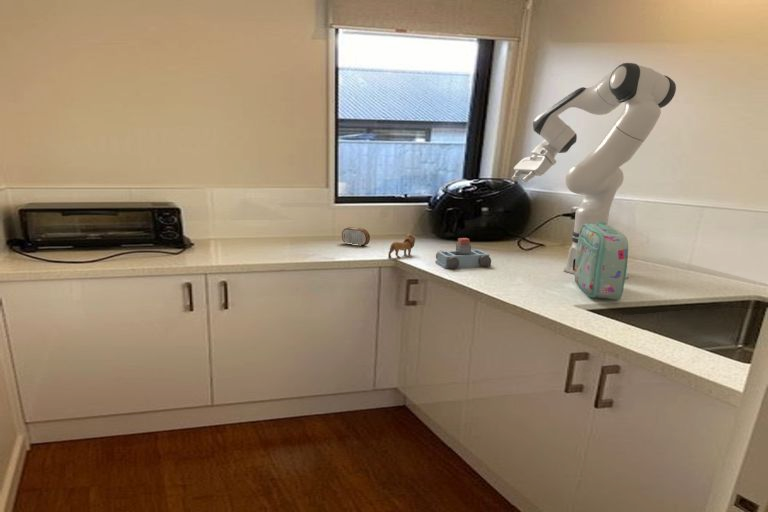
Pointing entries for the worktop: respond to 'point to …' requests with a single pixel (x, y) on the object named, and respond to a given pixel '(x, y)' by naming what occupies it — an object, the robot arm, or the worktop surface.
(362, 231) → the wooden speaker
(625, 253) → the lunch box
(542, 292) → the worktop surface
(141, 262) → the worktop surface
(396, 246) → the lion figurine
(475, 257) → the chassis
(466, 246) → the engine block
